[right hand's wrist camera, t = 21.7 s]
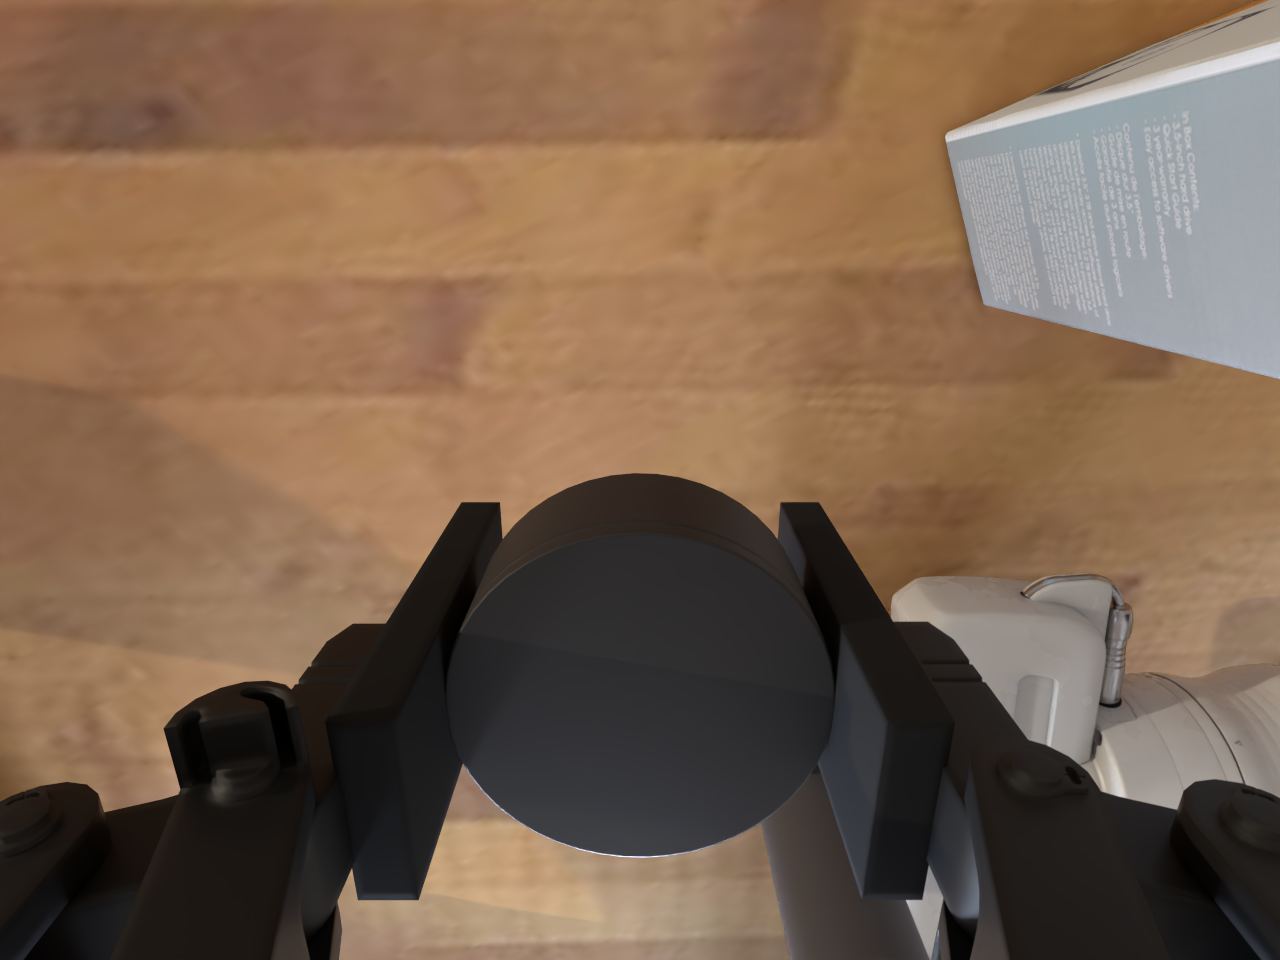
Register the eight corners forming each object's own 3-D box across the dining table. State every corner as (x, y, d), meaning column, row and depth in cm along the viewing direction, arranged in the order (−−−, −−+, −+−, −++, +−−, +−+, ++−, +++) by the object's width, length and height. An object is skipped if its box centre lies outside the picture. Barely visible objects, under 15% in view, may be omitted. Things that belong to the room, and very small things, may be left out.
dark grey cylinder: (796, 754, 39) (914, 1145, 23) (722, 723, 38) (788, 1103, 22) (841, 690, 38) (1003, 1057, 21) (765, 656, 37) (872, 1009, 20)
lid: (631, 401, 11) (628, 446, 9) (869, 616, 12) (918, 702, 10) (412, 630, 12) (364, 719, 10) (647, 802, 14) (648, 912, 12)
